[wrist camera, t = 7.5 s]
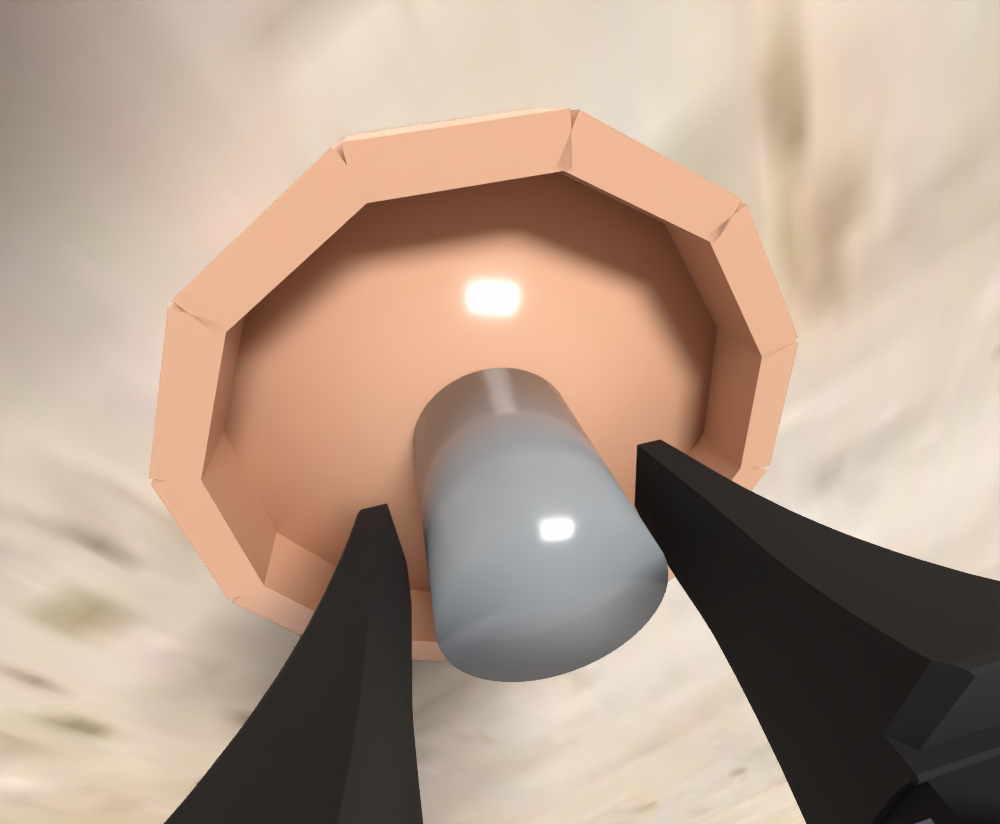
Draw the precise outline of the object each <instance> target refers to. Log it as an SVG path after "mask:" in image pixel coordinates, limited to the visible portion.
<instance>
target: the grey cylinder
mask: <svg viewBox="0 0 1000 824" xmlns="http://www.w3.org/2000/svg"><path fill="white" fill-rule="evenodd" d="M413 452H414V460H415V468H416V476H417V484H418V493H419V501H420V509H421V517H422V525H423V534H424V542H425V550H426V558H427V566H428V575H429V583H430V591H431V599H432V608H433V616H434V624H435V632H436V638H437V643H438V645H439V648H440V650H441V652H442V653H443V655H444V656H445V658H446V659H447V660H448V661H449V662H450V663H451V664H452V665H454V666H455V667H456V668H458V669H460V670H461V671H463V672H465V673H467V674H470V675H472V676H475V677H478V678H482V679H486V680H492V681H502V682H523V681H533V680H539V679H545V678H549V677H553V676H558V675H561V674H564V673H567V672H571V671H574V670H576V669H579V668H581V667H584V666H586V665H588V664H590V663H592V662H595V661H597V660H599V659H601V658H602V657H604V656H606V655H608V654H609V653H611V652H613V651H614V650H616V649H617V648H619V647H620V646H622V645H623V644H624V643H625V642H627V641H628V640H629V639H631V638H632V637H633V636H634V635H635V634H636V633H637V632H638V631H639V630H641V629H642V627H643V626H644V625H645V624H646V623H647V622H648V621H649V620H650V618H651V617H652V616H653V614H654V613H655V612H656V610H657V608H658V607H659V605H660V603H661V601H662V599H663V597H664V594H665V592H666V588H667V583H668V566H667V561H666V559H665V556H664V553H663V552H662V550H661V549H660V547H659V546H658V544H657V543H656V541H655V540H654V538H653V536H652V535H651V533H650V532H649V530H648V529H647V527H646V526H645V524H644V523H643V521H642V519H641V518H640V516H639V515H638V513H637V512H636V510H635V509H634V507H633V506H632V504H631V502H630V501H629V499H628V498H627V496H626V495H625V493H624V492H623V490H622V489H621V487H620V485H619V484H618V482H617V481H616V479H615V478H614V476H613V475H612V473H611V472H610V470H609V468H608V467H607V465H606V464H605V462H604V461H603V459H602V458H601V456H600V455H599V453H598V451H597V450H596V448H595V447H594V445H593V444H592V442H591V441H590V439H589V438H588V436H587V434H586V433H585V431H584V430H583V428H582V427H581V425H580V424H579V422H578V421H577V419H576V417H575V416H574V414H573V413H572V411H571V410H570V408H569V407H568V405H567V404H566V402H565V400H564V399H563V397H562V396H561V394H560V393H559V392H558V390H557V389H556V388H555V387H554V386H553V385H552V384H550V383H549V382H548V381H547V380H545V379H543V378H542V377H540V376H538V375H536V374H534V373H531V372H528V371H525V370H520V369H515V368H491V369H484V370H480V371H476V372H473V373H470V374H467V375H465V376H462V377H460V378H458V379H457V380H455V381H453V382H451V383H450V384H448V385H447V386H445V387H444V388H443V389H441V390H440V391H439V392H438V393H437V394H436V395H435V396H434V397H433V398H432V399H431V400H430V401H429V402H428V404H427V405H426V407H425V408H424V409H423V411H422V413H421V415H420V417H419V419H418V421H417V424H416V427H415V430H414V436H413Z"/></svg>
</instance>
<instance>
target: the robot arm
mask: <svg viewBox="0 0 1000 824" xmlns="http://www.w3.org/2000/svg"><path fill="white" fill-rule="evenodd" d="M634 506H635V508H636V510H637V512H638V514H639V516H640V518H641V519H642V521H643V523H644V524H645V526H646V527H647V529H648V530H649V532H650V533H651V535H652V536H653V538H654V540H655V541H656V543H657V544H658V546H659V547H660V549H661V550H662V552H663V553H664V556H665V559H666V561H667V565H668V566H669V568H670V569H671V571H672V572H673V574H674V575H675V577H676V578H677V580H678V581H679V583H680V584H681V586H682V587H683V589H684V590H685V592H686V593H687V595H688V596H689V598H690V599H691V601H692V602H693V604H694V605H695V607H696V608H697V610H698V611H699V612H700V614H701V615H702V617H703V619H704V620H705V622H706V623H707V625H708V627H709V628H710V630H711V632H712V633H713V635H714V637H715V638H716V640H717V642H718V644H719V646H720V648H721V649H722V651H723V653H724V655H725V657H726V659H727V661H728V662H729V664H730V666H731V668H732V670H733V672H734V674H735V675H736V677H737V679H738V681H739V683H740V685H741V687H742V689H743V691H744V693H745V695H746V697H747V699H748V701H749V703H750V705H751V707H752V709H753V711H754V713H755V715H756V716H757V719H758V721H759V723H760V725H761V727H762V729H763V731H764V733H765V735H766V737H767V739H768V741H769V743H770V745H771V748H772V750H773V752H774V754H775V756H776V758H777V760H778V762H779V764H780V766H781V768H782V771H783V773H784V775H785V777H786V779H787V782H788V784H789V786H790V788H791V790H792V793H793V795H794V797H795V799H796V801H797V804H798V806H799V808H800V810H801V813H802V815H803V817H804V819H805V821H806V824H1000V581H997V580H993V579H988V578H984V577H980V576H976V575H972V574H968V573H964V572H961V571H957V570H954V569H950V568H947V567H944V566H940V565H937V564H933V563H930V562H926V561H923V560H920V559H916V558H913V557H910V556H907V555H904V554H901V553H898V552H895V551H891V550H889V549H886V548H883V547H880V546H877V545H875V544H872V543H869V542H866V541H863V540H860V539H858V538H855V537H852V536H850V535H847V534H844V533H842V532H839V531H837V530H834V529H832V528H829V527H827V526H825V525H822V524H820V523H818V522H815V521H813V520H810V519H808V518H806V517H803V516H801V515H799V514H797V513H794V512H792V511H790V510H788V509H786V508H784V507H782V506H780V505H778V504H776V503H774V502H772V501H770V500H768V499H766V498H764V497H762V496H760V495H758V494H756V493H754V492H752V491H750V490H748V489H746V488H744V487H742V486H741V485H739V484H737V483H735V482H733V481H732V480H730V479H728V478H726V477H724V476H723V475H721V474H719V473H717V472H716V471H714V470H712V469H710V468H709V467H707V466H705V465H704V464H702V463H700V462H699V461H697V460H695V459H693V458H692V457H690V456H688V455H687V454H685V453H683V452H682V451H680V450H678V449H676V448H675V447H673V446H671V445H670V444H668V443H666V442H664V441H662V440H661V439H660V440H655V441H651V442H647V443H642V444H638V445H637V457H636V481H635V504H634ZM164 824H423V819H422V809H421V800H420V790H419V780H418V770H417V760H416V749H415V738H414V728H413V711H412V602H411V593H410V584H409V576H408V568H407V561H406V558H405V555H404V552H403V549H402V546H401V543H400V540H399V537H398V534H397V531H396V528H395V525H394V522H393V519H392V516H391V513H390V510H389V507H388V504H387V503H386V504H382V505H378V506H374V507H369V508H365V509H361V510H360V511H359V513H358V514H357V517H356V519H355V522H354V525H353V528H352V531H351V533H350V536H349V538H348V541H347V543H346V546H345V548H344V551H343V553H342V555H341V558H340V560H339V562H338V565H337V567H336V569H335V571H334V573H333V575H332V578H331V580H330V582H329V584H328V586H327V589H326V591H325V593H324V595H323V597H322V599H321V600H320V602H319V604H318V606H317V608H316V610H315V612H314V614H313V616H312V618H311V620H310V621H309V623H308V625H307V627H306V629H305V631H304V633H303V634H302V636H301V638H300V640H299V641H298V643H297V645H296V646H295V648H294V650H293V651H292V653H291V655H290V656H289V658H288V660H287V661H286V663H285V664H284V666H283V668H282V669H281V671H280V672H279V674H278V676H277V677H276V679H275V680H274V682H273V683H272V685H271V686H270V687H269V689H268V690H267V692H266V693H265V695H264V696H263V698H262V699H261V701H260V702H259V704H258V705H257V707H256V708H255V710H254V711H253V712H252V714H251V715H250V717H249V718H248V719H247V721H246V722H245V724H244V725H243V726H242V728H241V729H240V730H239V732H238V733H237V734H236V736H235V737H234V738H233V739H232V741H231V742H230V743H229V745H228V746H227V747H226V748H225V750H224V751H223V752H222V754H221V755H220V756H219V757H218V759H217V760H216V761H215V763H214V764H213V765H212V766H211V768H210V769H209V770H208V771H207V773H206V774H205V775H204V777H203V778H202V779H201V780H200V782H199V783H198V784H197V785H196V787H195V788H194V789H193V790H192V792H191V793H190V794H189V795H188V796H187V798H186V799H185V800H184V801H183V802H182V803H181V805H180V806H179V807H178V808H177V809H176V810H175V811H174V813H173V814H172V815H171V816H170V817H169V818H168V819H167V821H166V822H165V823H164Z"/></svg>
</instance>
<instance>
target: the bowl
mask: <svg viewBox="0 0 1000 824" xmlns="http://www.w3.org/2000/svg"><path fill="white" fill-rule="evenodd" d="M741 200H742V199H741V198H740V197H738V196H736V195H734V194H732V193H730V192H729V191H727V190H725V189H723V188H721V187H720V186H718V185H716V184H714V183H712V182H710V181H709V180H707V179H705V178H703V177H701V176H699V175H698V174H696V173H694V172H692V171H690V170H689V169H687V168H685V167H683V166H681V165H679V164H678V163H676V162H674V161H672V160H670V159H668V158H667V157H665V156H663V155H661V154H659V153H658V152H656V151H654V150H652V149H650V148H648V147H647V146H645V145H643V144H641V143H639V142H637V141H636V140H634V139H632V138H630V137H628V136H627V135H625V134H623V133H621V132H619V131H617V130H616V129H614V128H612V127H610V126H608V125H606V124H605V123H603V122H601V121H599V120H597V119H596V118H594V117H592V116H590V115H588V114H586V113H585V112H583V111H581V110H571V108H552V109H523V110H517V111H510V112H503V113H496V114H489V115H483V116H476V117H469V118H462V119H455V120H449V121H442V122H435V123H428V124H422V125H415V126H408V127H401V128H394V129H388V130H381V131H374V132H367V133H360V134H354V135H349V136H348V137H347V138H345V139H344V140H343V139H341V140H340V141H338V142H337V143H336V144H335V145H333V146H332V147H331V148H330V149H329V150H328V151H327V152H326V153H325V154H324V155H323V156H322V157H321V158H320V159H319V160H317V161H316V162H315V163H314V164H313V165H312V166H311V167H310V168H309V169H308V170H307V171H306V172H305V173H304V174H303V175H302V176H301V177H300V178H299V179H298V180H297V181H296V182H295V183H294V184H293V185H291V186H290V187H289V188H288V189H287V190H286V191H285V192H284V193H283V194H282V195H281V196H280V197H279V198H278V199H277V200H276V201H275V202H274V203H273V204H272V205H271V206H270V207H269V208H268V209H267V210H265V211H264V212H263V213H262V214H261V215H260V216H259V217H258V218H257V219H256V220H255V221H254V222H253V223H252V224H251V225H250V226H249V227H248V228H247V229H246V230H245V231H244V232H243V233H242V234H240V235H239V236H238V237H237V238H236V239H235V240H234V241H233V242H232V243H231V244H230V245H229V246H228V247H227V248H226V249H225V250H224V251H223V252H222V253H221V254H220V255H219V256H218V257H217V258H216V259H214V260H213V261H212V262H211V263H210V264H209V265H208V266H207V267H206V268H205V269H204V270H203V271H202V272H201V273H200V274H199V275H198V276H197V277H196V278H195V279H194V280H193V281H192V282H191V283H190V284H188V285H187V286H186V287H185V288H184V289H183V290H182V291H181V292H180V293H179V294H178V295H177V296H176V297H175V298H174V299H173V300H172V301H173V302H174V303H173V304H172V305H171V306H170V307H169V308H168V312H167V321H166V330H165V338H164V347H163V356H162V365H161V374H160V383H159V392H158V401H157V410H156V419H155V428H154V437H153V446H152V455H151V464H150V473H149V478H151V479H154V480H153V482H152V483H151V486H152V487H153V489H154V490H155V492H156V493H157V495H158V496H159V498H160V499H161V501H162V502H163V503H164V505H165V506H166V508H167V509H168V511H169V512H170V514H171V515H172V517H173V518H174V520H175V521H176V523H177V524H178V526H179V527H180V529H181V530H182V532H183V533H184V535H185V536H186V538H187V539H188V541H189V542H190V544H191V545H192V547H193V548H194V549H195V551H196V552H197V554H198V555H199V557H200V558H201V560H202V561H203V563H204V564H205V566H206V567H207V569H208V570H209V572H210V573H211V575H212V576H213V578H214V579H215V581H216V582H217V584H218V585H219V587H220V588H221V590H222V591H223V592H224V594H225V595H226V597H227V598H228V599H232V598H234V600H233V603H234V604H236V605H238V606H240V607H242V608H245V609H247V610H249V611H251V612H253V613H255V614H257V615H260V616H262V617H264V618H266V619H268V620H270V621H272V622H275V623H277V624H279V625H281V626H283V627H285V628H287V629H290V630H292V631H294V632H296V633H298V634H300V635H302V634H303V633H304V631H305V629H306V627H307V625H308V623H309V621H310V620H311V618H312V616H313V614H314V612H315V610H316V608H317V606H318V604H319V602H320V600H321V599H322V597H323V595H324V593H325V591H326V589H327V586H328V584H329V582H330V580H331V578H332V575H333V573H334V571H335V569H336V567H337V565H338V562H339V560H340V558H341V555H342V553H343V551H344V548H345V546H346V543H347V541H348V538H349V536H350V533H351V531H352V528H353V525H354V522H355V519H356V517H357V514H358V513H359V511H360V510H361V509H365V508H369V507H374V506H378V505H382V504H386V503H387V504H388V507H389V510H390V513H391V516H392V519H393V522H394V525H395V528H396V531H397V534H398V537H399V540H400V543H401V546H402V549H403V552H404V555H405V558H406V561H407V568H408V576H409V584H410V593H411V602H412V660H420V661H442V662H449V661H448V660H447V659H446V658H445V656H444V655H443V653H442V652H441V650H440V648H439V645H438V643H437V638H436V632H435V624H434V616H433V608H432V599H431V591H430V583H429V575H428V566H427V558H426V550H425V542H424V534H423V525H422V517H421V509H420V501H419V493H418V484H417V476H416V468H415V460H414V452H413V436H414V430H415V427H416V424H417V421H418V419H419V417H420V415H421V413H422V411H423V409H424V408H425V407H426V405H427V404H428V402H429V401H430V400H431V399H432V398H433V397H434V396H435V395H436V394H437V393H438V392H439V391H440V390H441V389H443V388H444V387H445V386H447V385H448V384H450V383H451V382H453V381H455V380H457V379H458V378H460V377H462V376H465V375H467V374H470V373H473V372H476V371H480V370H484V369H491V368H515V369H520V370H525V371H528V372H531V373H534V374H536V375H538V376H540V377H542V378H543V379H545V380H547V381H548V382H549V383H550V384H552V385H553V386H554V387H555V388H556V389H557V390H558V392H559V393H560V394H561V396H562V397H563V399H564V400H565V402H566V404H567V405H568V407H569V408H570V410H571V411H572V413H573V414H574V416H575V417H576V419H577V421H578V422H579V424H580V425H581V427H582V428H583V430H584V431H585V433H586V434H587V436H588V438H589V439H590V441H591V442H592V444H593V445H594V447H595V448H596V450H597V451H598V453H599V455H600V456H601V458H602V459H603V461H604V462H605V464H606V465H607V467H608V468H609V470H610V472H611V473H612V475H613V476H614V478H615V479H616V481H617V482H618V484H619V485H620V487H621V489H622V490H623V492H624V493H625V495H626V496H627V498H628V499H629V501H630V502H631V504H632V506H633V507H634V509H635V510H636V508H635V506H634V504H635V481H636V457H637V445H638V444H642V443H647V442H651V441H655V440H660V439H661V440H662V441H664V442H666V443H668V444H670V445H671V446H673V447H675V448H676V449H678V450H680V451H682V452H683V453H685V454H687V455H688V456H690V457H692V458H693V459H695V460H697V461H699V462H700V463H702V464H704V465H705V466H707V467H709V468H710V469H712V470H714V471H716V472H717V473H719V474H721V475H723V476H724V477H726V478H728V479H730V480H732V481H733V482H735V483H737V484H739V485H741V486H742V487H744V488H746V489H748V490H750V491H751V490H752V489H753V488H754V486H755V485H756V484H757V483H758V481H759V480H760V479H761V477H762V476H763V475H764V474H765V472H766V471H767V469H766V468H765V466H769V465H770V462H771V458H772V453H773V449H774V445H775V441H776V436H777V432H778V428H779V424H780V419H781V415H782V411H783V406H784V402H785V398H786V394H787V389H788V385H789V381H790V376H791V372H792V368H793V364H794V359H795V355H796V351H797V347H798V343H797V342H795V341H794V340H795V339H797V338H798V336H797V334H796V331H795V328H794V326H793V323H792V321H791V318H790V315H789V313H788V310H787V308H786V305H785V302H784V300H783V297H782V295H781V292H780V289H779V287H778V284H777V282H776V279H775V276H774V274H773V271H772V269H771V266H770V263H769V261H768V258H767V256H766V253H765V250H764V248H763V245H762V243H761V240H760V237H759V235H758V232H757V230H756V227H755V224H754V222H753V219H752V217H751V214H750V211H749V209H748V206H747V204H743V203H740V202H741ZM636 512H637V510H636ZM637 513H638V512H637ZM638 515H639V514H638ZM667 566H668V565H667ZM674 577H675V575H674V574H673V572H672V571H671V569H670V568H669V566H668V581H669V580H671V579H672V578H674Z"/></svg>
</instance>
